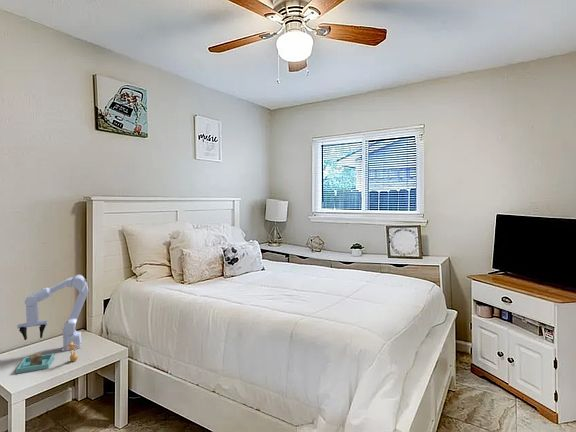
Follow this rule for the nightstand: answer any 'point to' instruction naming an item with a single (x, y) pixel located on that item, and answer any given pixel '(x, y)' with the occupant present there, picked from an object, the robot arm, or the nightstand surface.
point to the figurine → (73, 356)
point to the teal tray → (27, 367)
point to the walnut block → (36, 359)
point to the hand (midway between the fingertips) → (33, 338)
